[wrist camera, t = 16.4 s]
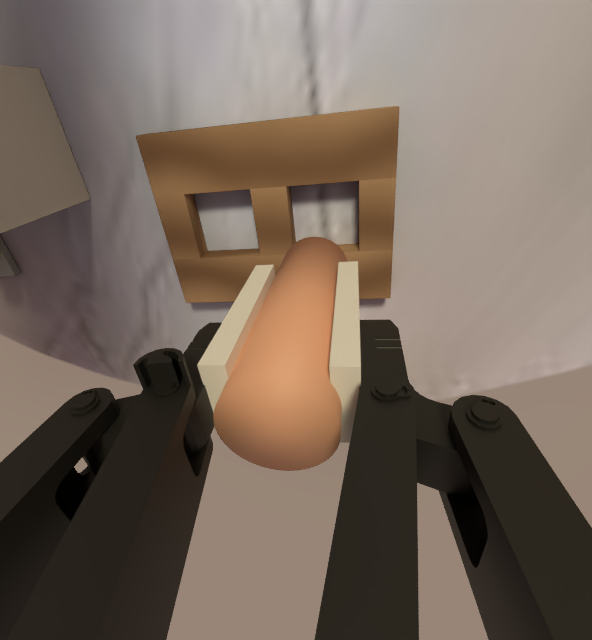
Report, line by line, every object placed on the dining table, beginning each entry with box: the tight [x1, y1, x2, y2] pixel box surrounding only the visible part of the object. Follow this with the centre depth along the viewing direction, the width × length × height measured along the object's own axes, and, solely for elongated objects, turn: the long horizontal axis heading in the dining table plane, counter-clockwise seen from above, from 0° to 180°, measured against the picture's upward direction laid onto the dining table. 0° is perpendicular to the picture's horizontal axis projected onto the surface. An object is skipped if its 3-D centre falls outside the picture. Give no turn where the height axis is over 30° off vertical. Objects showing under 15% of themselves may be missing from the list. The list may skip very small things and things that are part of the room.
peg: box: [213, 237, 347, 471], centre depth 13 cm, size 3×3×10 cm
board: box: [136, 106, 399, 303], centre depth 24 cm, size 12×16×2 cm
